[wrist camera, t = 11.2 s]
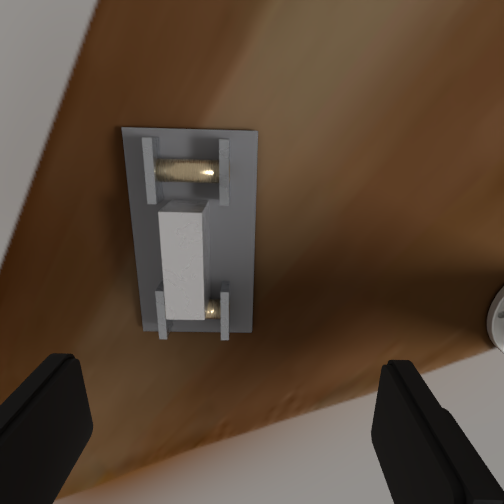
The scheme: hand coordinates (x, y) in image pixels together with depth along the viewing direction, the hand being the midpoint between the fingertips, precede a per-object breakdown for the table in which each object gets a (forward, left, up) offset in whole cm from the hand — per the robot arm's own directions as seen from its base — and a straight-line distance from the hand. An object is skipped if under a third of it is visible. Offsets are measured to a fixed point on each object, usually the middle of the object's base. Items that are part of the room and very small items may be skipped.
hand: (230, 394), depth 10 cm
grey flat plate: (+5, +3, -23) cm, 24 cm away
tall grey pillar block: (+5, +4, -23) cm, 24 cm away
